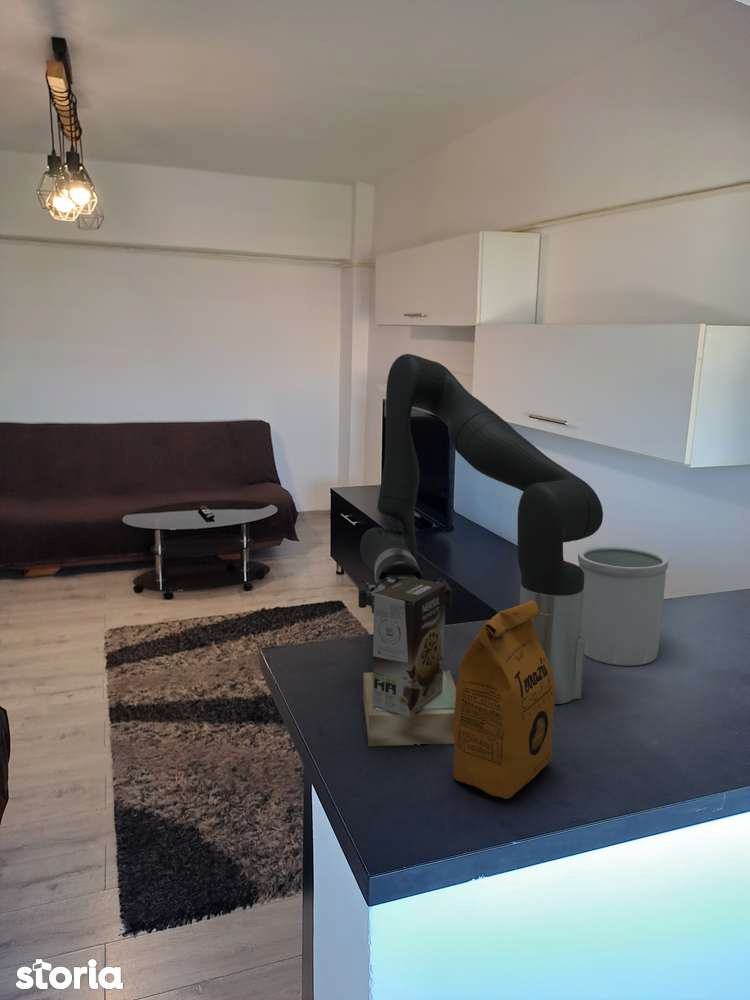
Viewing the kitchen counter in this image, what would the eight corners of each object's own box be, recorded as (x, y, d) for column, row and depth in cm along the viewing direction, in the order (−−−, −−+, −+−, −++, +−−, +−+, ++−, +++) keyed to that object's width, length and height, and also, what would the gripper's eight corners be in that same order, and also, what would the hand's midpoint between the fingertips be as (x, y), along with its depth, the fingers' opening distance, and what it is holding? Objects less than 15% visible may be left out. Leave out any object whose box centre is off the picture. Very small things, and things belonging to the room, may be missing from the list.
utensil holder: (554, 647, 133) (560, 553, 130) (602, 627, 143) (609, 538, 139) (629, 676, 122) (638, 573, 119) (675, 652, 132) (685, 556, 128)
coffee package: (564, 771, 95) (575, 607, 91) (506, 813, 87) (516, 634, 82) (499, 741, 102) (507, 587, 98) (440, 777, 94) (446, 611, 89)
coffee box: (411, 719, 98) (413, 602, 95) (370, 705, 102) (371, 592, 98) (444, 692, 106) (448, 583, 102) (405, 680, 109) (407, 574, 106)
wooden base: (448, 698, 114) (449, 669, 113) (464, 743, 102) (465, 710, 101) (363, 700, 113) (363, 670, 112) (368, 746, 101) (368, 713, 100)
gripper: (355, 554, 123) (360, 586, 107) (440, 553, 124) (458, 584, 108) (354, 597, 125) (360, 635, 109) (439, 596, 126) (457, 633, 110)
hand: (409, 610), depth 109 cm, fingers open, 8 cm apart
